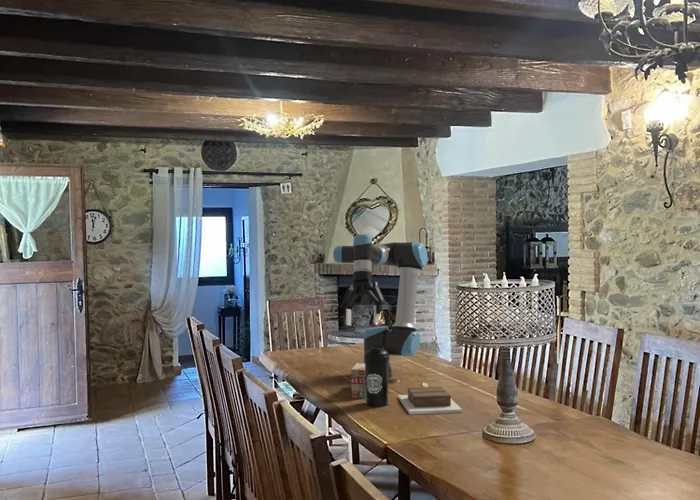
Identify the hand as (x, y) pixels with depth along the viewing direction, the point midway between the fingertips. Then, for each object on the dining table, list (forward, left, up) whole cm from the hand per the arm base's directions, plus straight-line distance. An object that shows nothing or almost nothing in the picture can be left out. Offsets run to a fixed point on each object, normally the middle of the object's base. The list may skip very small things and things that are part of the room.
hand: (362, 324), depth 253 cm
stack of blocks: (-18, +2, -32) cm, 37 cm away
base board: (+6, +25, -32) cm, 41 cm away
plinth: (+6, +25, -31) cm, 40 cm away
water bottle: (+2, +5, -32) cm, 33 cm away
